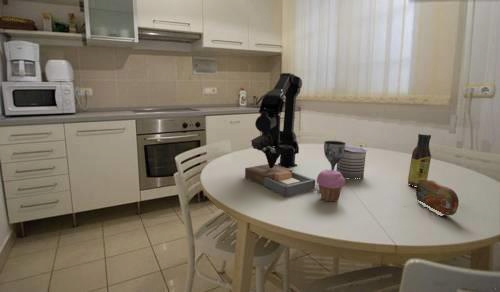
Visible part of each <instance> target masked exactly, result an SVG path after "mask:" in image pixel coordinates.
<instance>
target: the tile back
mask: <svg viewBox="0 0 500 292" xmlns="http://www.w3.org/2000/svg"><path fill="white" fill-rule="evenodd" d="M292 172H293V171H292ZM292 172H289V171H284V172H278V173H275V176H274V181H276V182H278V183H279V180H283V179H288V178H292Z"/></svg>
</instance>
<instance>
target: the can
mask: <svg viewBox="0 0 500 292" xmlns="http://www.w3.org/2000/svg"><path fill="white" fill-rule="evenodd" d="M366 154H367V150H366V149H365V148H362V147H358V146H354V145H347V144H346V146H345V152H344V155H343V157H342V159H341V160H340V161H339V162H338V163H337V164H336V170H335V171H339V172H340V173H341V174H342V176H343V178H344V179H345V178H349V179H348V180H354V179H355V178H356V179H357V178H358V179H359V178H362V177H363V178H364V176H365V175H364V174H365V166H366V165H365V164H366V156H367V155H366ZM363 178H362V179H363ZM359 180H360V179H359Z"/></svg>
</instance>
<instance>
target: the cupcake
mask: <svg viewBox="0 0 500 292" xmlns="http://www.w3.org/2000/svg"><path fill="white" fill-rule="evenodd" d="M316 183H317V184H318V190H319V194H320V197H321V198H322V199H324V201H325V202H338V201H339V199H340V196H341V192H342V188H343V187H344V186H345V185H346V179H345V178H343V176H342V174H341V173H340V172H339V171H336V170H335V169H334V170H331V169H323V170H322V171H320V172H319V173H318V175H317V177H316Z"/></svg>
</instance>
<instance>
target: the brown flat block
mask: <svg viewBox="0 0 500 292" xmlns="http://www.w3.org/2000/svg"><path fill="white" fill-rule="evenodd" d="M284 171H289V172H293V169H290V168H288V167H284V166H281V165H278V164H276V163H275V165H274V167H273V168H269V164H268V163H267V164H262V165H261V164H260V165H256V166H250V167H245V168H244V179H246V180H249V181H251V182H253V183H255V184H257V185H259V186H261V187H263V184H264V177H267V178H269V179H272V180H274V176H275V173H278V172H284Z"/></svg>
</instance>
